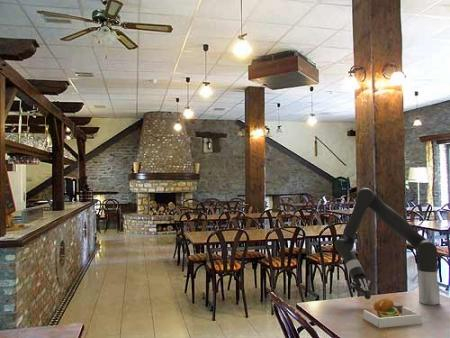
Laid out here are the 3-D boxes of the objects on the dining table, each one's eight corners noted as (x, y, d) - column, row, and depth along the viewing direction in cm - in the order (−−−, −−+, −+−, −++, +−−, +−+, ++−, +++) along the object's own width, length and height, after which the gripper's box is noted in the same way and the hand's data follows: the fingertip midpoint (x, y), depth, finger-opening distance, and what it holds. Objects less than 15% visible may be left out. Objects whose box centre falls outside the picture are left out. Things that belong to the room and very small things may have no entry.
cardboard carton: (394, 307, 202) (394, 301, 202) (403, 311, 195) (403, 305, 195) (387, 307, 201) (387, 302, 201) (396, 312, 194) (396, 306, 195)
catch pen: (404, 314, 190) (403, 306, 190) (422, 323, 178) (421, 314, 178) (363, 318, 186) (363, 310, 186) (379, 327, 173) (379, 318, 174)
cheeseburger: (403, 321, 181) (398, 300, 182) (381, 326, 182) (375, 305, 183) (396, 313, 191) (390, 293, 192) (375, 318, 192) (369, 298, 193)
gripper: (346, 266, 210) (360, 295, 198) (368, 265, 213) (383, 293, 200) (342, 274, 215) (354, 303, 203) (363, 273, 218) (377, 301, 205)
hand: (368, 298), depth 201 cm, fingers closed
